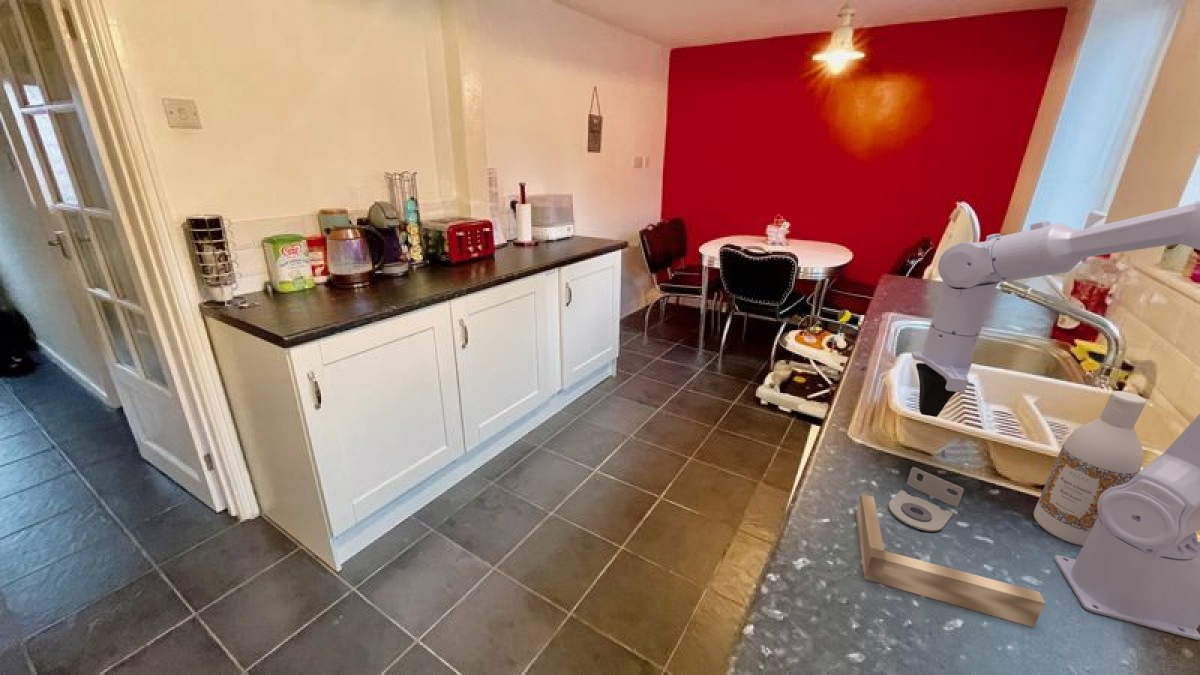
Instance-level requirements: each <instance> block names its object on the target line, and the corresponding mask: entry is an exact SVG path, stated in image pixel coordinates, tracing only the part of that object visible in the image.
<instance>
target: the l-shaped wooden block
mask: <svg viewBox="0 0 1200 675" xmlns="http://www.w3.org/2000/svg"><path fill="white" fill-rule="evenodd" d="M855 517H856V518H855V519H856V520H855V521H856V525H857V533H858V542H859V548H860V554H861V562H862V563H861V564H862V569H863V577H864V580H867V581H869V582H874V583H877V584H881V585H884V586H888V587H891V588H895V589H898V590H901V591H905V592H908V593H912V594H916V595H920V596H922V597H927V598H929V599H932V600H935V601H936V600H937V601H939V602H944V603H947V604H950V605H954V606H957V607H960V608H965V609H967V610H971V611H974V612H978V613H982V614H985V615H988V616H993V617H995V618H1000V619H1003V620H1006V621H1010V622H1013V623H1016V624H1021V625H1022V626H1023V625H1024V626H1028V627H1031V628H1035V625H1036V623H1037V621H1038V619H1039V618H1040V615H1041V612H1042V611H1043V610H1044V607H1045V606H1046V601H1045V600H1044V598H1043V597H1042V595H1041V593H1040V591H1038V590H1034V589H1029V588H1026V587H1023V586H1018V585H1016V584H1015V585H1014V584H1012V583H1011V584H1010V583H1008V582H1004V581H999V580H996V579H993V578H989V577H984V576H981V575H977V574H973V573H970V572H965V571H962V570H957V569H954V568H951V567H947V566H943V565H939V564H936V563H932V562H929V561H925V560H920V559H916V558H913V557H909V556H906V555H903V554H902V555H901V554H898V553H894V552H889V551H886V550H885V549H884V548H885V547H884V542H883V541H884V540H883V536H882V533H881V528H880V521H879V518H878V517H879V516H878V510H877V506H876V501H875V497H874V496H873V495H868V494H863V493H861V494H860V497H859V500H858V504H857V509H856V512H855Z"/></svg>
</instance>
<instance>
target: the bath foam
mask: <svg viewBox="0 0 1200 675" xmlns="http://www.w3.org/2000/svg"><path fill="white" fill-rule="evenodd" d="M1146 404H1147V400H1146V399H1145V398H1144V397H1143V396H1140V395H1138V394H1135V393H1131V392H1128V391H1124V390H1123V391H1122V390H1115V391H1112V392H1111V393H1110V395H1109V397H1108V399H1107V401H1106V403H1105V406H1104V407H1103V410H1102V413H1101V414H1100V416H1099V417H1098V418H1096V419H1093V420H1090V421H1089V422H1087V423H1085V424H1082V425H1081V426H1079V427H1077V428H1075V430H1073V431H1072V432H1071V433H1070V434H1069V435H1068V436H1067V438H1066V440H1064V442H1063V443H1062V446H1061V449H1060V451H1059V453H1058V456H1057V458H1056V460H1055V461H1054V464H1053V466H1052V469H1051V471H1050V474H1049V476H1048V478H1047V481H1046V482H1045V484H1044V487H1043V489H1042V492H1041V494H1040V495H1039V496H1040V497H1039V499H1038V501H1037V503H1036V506H1035V507H1034V508H1035V509H1034V511H1033V517H1034V520H1035V521H1036V522H1037V524H1038V525H1039V526H1040V527H1042V528H1043V529H1044V530H1045V531H1046V532H1048V533H1049V534H1051V535H1052V536H1054V537H1057V538H1059V539H1061V540H1063V541H1065V542H1068V543H1070V544H1074V545H1078V546H1083V545H1084V543H1085V541H1086V539H1087V537H1088V535H1089V533H1090V531H1091V529H1092V527H1093V525H1094V523H1095V521H1096V519H1097V517H1098V515H1099V513H1098V509H1097V503H1098V499H1099V497H1100V495H1101V494H1102V493H1103V492H1104V491H1105V490H1107V489H1109V488H1111V487H1114V486H1118V485H1122V484H1125V483H1127V482H1129V481H1130V480H1132V479H1133V478H1134V477H1135V476H1136V474H1137V473H1138V472H1140V471H1141V470H1142V469H1141V468H1142V466H1143V463H1144V462H1143V460H1144V451H1143V447H1142V446H1143V445H1142V443H1141V441H1140V438H1139V436H1138V434H1137V431H1136V430H1135V426H1136V423H1138V420H1139V418H1140V416H1141V414H1142V412H1143V410H1144V408H1145V406H1146Z"/></svg>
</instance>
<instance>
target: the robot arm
mask: <svg viewBox="0 0 1200 675" xmlns="http://www.w3.org/2000/svg"><path fill="white" fill-rule="evenodd" d="M1029 227H1030V228H1029V229H1026V230H1023V231H1018V232H1014V233H1009V234H1006V235H1001V233H993V234H989V235H987V236H986V238H985V239H986V240H985V241H978V242H977V241H976V242H970V241H961V242H958V244H955V245H953V246H951V247H948V248H947V249H946V250H945V251H944V252H943V253H941V256H940V257H939V260H938V264H937V270H938V274H939V276H940V277H939V278H941V280H942V284H941V287H940V290H939V293H938V296H937V301H936V305H935V308H934V311H933V314H932V318H931V320H930V325H929V327H928V332H927V336H926V339H925V342H924V345H923V348H922V350H921V351H918V350H913V351H912V353H911V357H912V359H913V360H914V361H919V362H917V363H916V364H915V368H916V371H917V375H918V381H919V382H918V383H919V398H918V407H919V408H918V409H919V412H920V414H921V415H923V416H928V417H933V418H937V417H938V416H939V415H940V414H941V412H942V411H943V409H944V408H945V407H946V405H947V404H948V402H949V401H950V399H951V398H952V397H954V396H955V394H957V393H962V394H965V393H966V390H967V386H968V384H969V378H968V376H969V373H970V370H971V367H972V359H973V356H974V353H975V351H976V347H977V343H978V341H979V338H980V335H981V331H982V329H983V325H984V322H985V320H986V316H987V313H988V310H989V308H990V304H991V302H992V299H993V295H994V294H995V291H996V289H997V286H998V285H999V284H1001V283H1002V282H1003V283H1004V282H1013V281H1019V280H1027V279H1032V278H1040V277H1045V276H1052V275H1053V276H1054V275H1059V274H1066V273H1069V272H1071V271H1072V270H1073V269H1075V268H1076V266H1077V265H1078V264H1079V263H1080V262H1081V261H1083V259H1085V258H1090V257H1096V256H1104V255H1109V254H1112V255H1113V254H1117V253H1124V252H1130V251H1137V250H1146V249H1152V248H1159V247H1164V246H1172V245H1177V244H1178V245H1182V246H1186V247H1189V248H1192V249H1196V250H1199V251H1200V202H1196V203H1195V202H1194V203H1191V204H1187V205H1182V206H1177V207H1174V208H1169V209H1166V210H1160V211H1157V212H1152V213H1148V214H1144V215H1139V216H1135V217H1132V218H1126V219H1123V220H1118V221H1114V222H1111V223H1110V222H1109V223H1106V224H1100V225H1095V226H1093V227H1089V228H1088V227H1087V228H1084V229H1083V228H1082V229H1080V230H1078V229H1075V228H1073V227H1070V226H1069V225H1067V224H1065V223H1062V222H1057V223H1053V224H1052V223H1051V221H1048V220H1047V221H1046V220H1045V221H1038V222H1035V223H1031V224H1030V225H1029ZM1097 509H1098V513H1099V515H1098V517H1097V519H1096V521H1095V523H1094V525H1093V527H1092V529H1091V531H1090V533H1089V535H1088V537H1087V539H1086V541H1085V543H1084V545H1082V547H1081V549H1080V551H1079V553H1078V556H1077V557H1076V559H1075V558H1070V557H1068V556H1062V555H1058V554H1057V555H1054V558H1053V559H1054V561H1055V562H1056V564H1057V566H1058V568H1059V569H1060V571H1061V573H1062V574H1063V576H1064V577H1065V579H1066V580H1067V582H1068V584H1069V586H1070V588H1071V589H1072V590H1073V592H1074V594H1075V595H1076V597H1077V599H1078V601H1079V602H1080V603H1081V606H1082V607H1083V608H1084V609H1085V610H1086V611H1088V612H1092V613H1094V614H1095V613H1096V614H1099V615H1103V616H1107V617H1111V618H1115V619H1118V620H1121V621H1126V622H1129V623H1133V624H1136V625H1140V626H1143V627H1148V628H1152V629H1155V630H1159V631H1162V632H1167V633H1171V634H1173V635H1177V636H1182V637H1185V638H1188V639H1189V638H1190V639H1192V640H1197V641H1198V640H1200V632H1199V631H1198V630H1197V629H1198V628H1199V626H1200V541H1198V534H1197V532H1198V531H1200V413H1199V414H1198V415H1197V416H1196V417H1195V418H1194V419H1193V420H1192V421H1191V422H1190V423H1189V425H1188V426H1187V427H1186V428H1185V429H1184V430H1183V431H1182V433H1181V434H1180V435H1179V436H1178V437H1177V438H1176V439H1175V440H1174V441H1173V442H1172V443H1170V445H1169V447H1168V448H1167V449H1166V450H1165V451H1164V452H1163V453H1161V454H1159V456H1158V457H1156V458H1155V459H1154V460H1152V461H1151V462H1149V464H1147V465H1146V466H1145V467H1144V468H1142V469H1141V470H1140V472H1138V473H1137V474H1136V476H1135V477H1134V478H1133V479H1132V480H1130V481H1129V482H1127V483H1125V484H1122V485H1118V486H1114V487H1111V488H1109V489H1107V490H1105V491H1104V492H1103V493H1102V494H1101V495H1100V497H1099V499H1098V503H1097Z"/></svg>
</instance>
